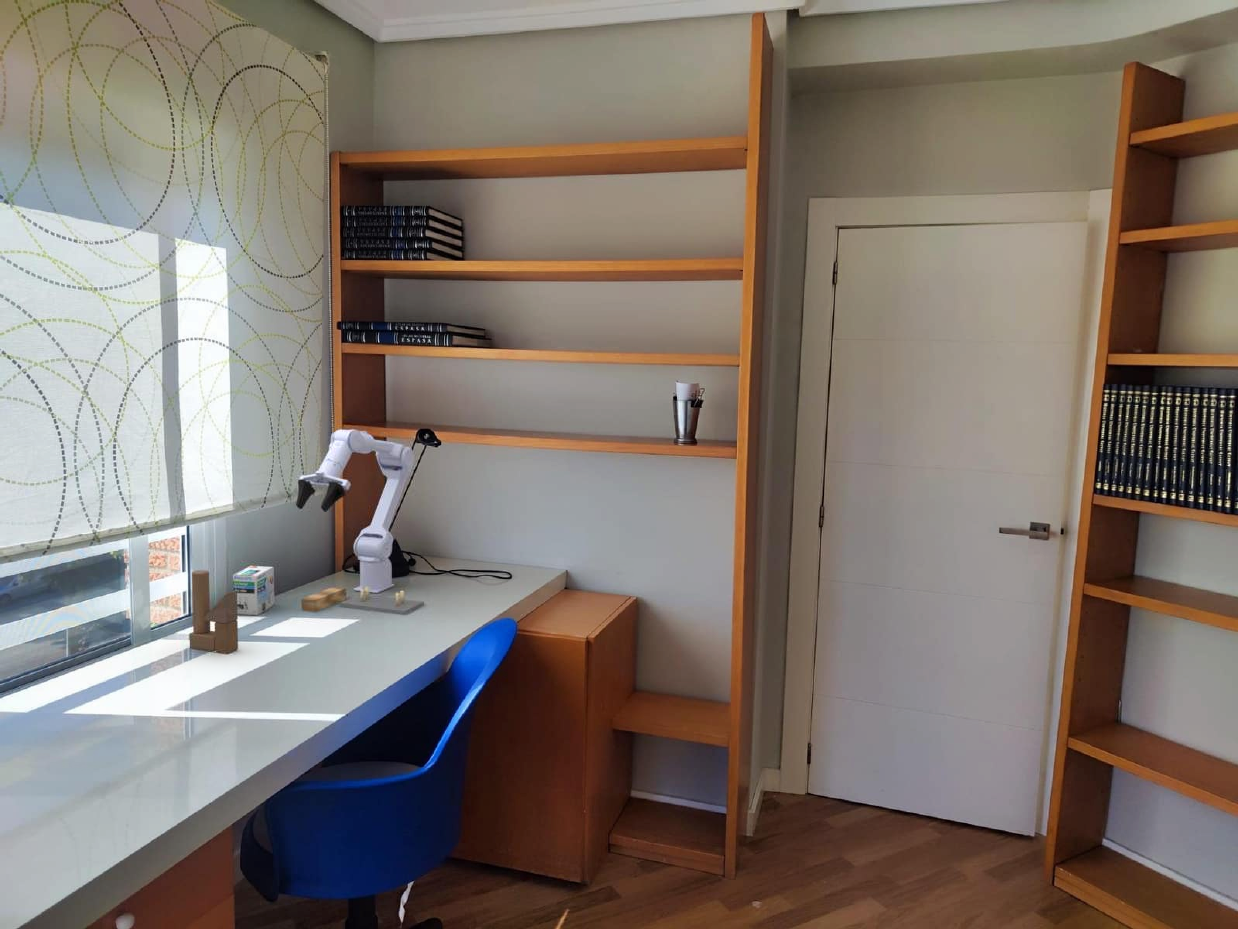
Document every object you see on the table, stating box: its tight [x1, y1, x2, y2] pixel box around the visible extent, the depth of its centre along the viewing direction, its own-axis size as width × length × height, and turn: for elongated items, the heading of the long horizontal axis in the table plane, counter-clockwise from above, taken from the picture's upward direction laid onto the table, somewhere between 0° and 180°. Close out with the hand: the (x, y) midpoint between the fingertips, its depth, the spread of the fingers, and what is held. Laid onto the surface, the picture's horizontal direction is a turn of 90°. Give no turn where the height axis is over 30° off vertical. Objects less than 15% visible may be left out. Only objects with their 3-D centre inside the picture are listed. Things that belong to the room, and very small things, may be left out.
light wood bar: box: [301, 586, 347, 613], centre depth 234 cm, size 14×4×4 cm, turn 162°
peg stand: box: [339, 586, 425, 616], centre depth 234 cm, size 10×20×4 cm, turn 73°
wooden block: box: [189, 569, 239, 655], centre depth 195 cm, size 4×11×18 cm, turn 73°
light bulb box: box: [232, 565, 275, 616], centre depth 227 cm, size 11×7×11 cm, turn 179°
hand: (311, 508), depth 222 cm, fingers open, 7 cm apart
